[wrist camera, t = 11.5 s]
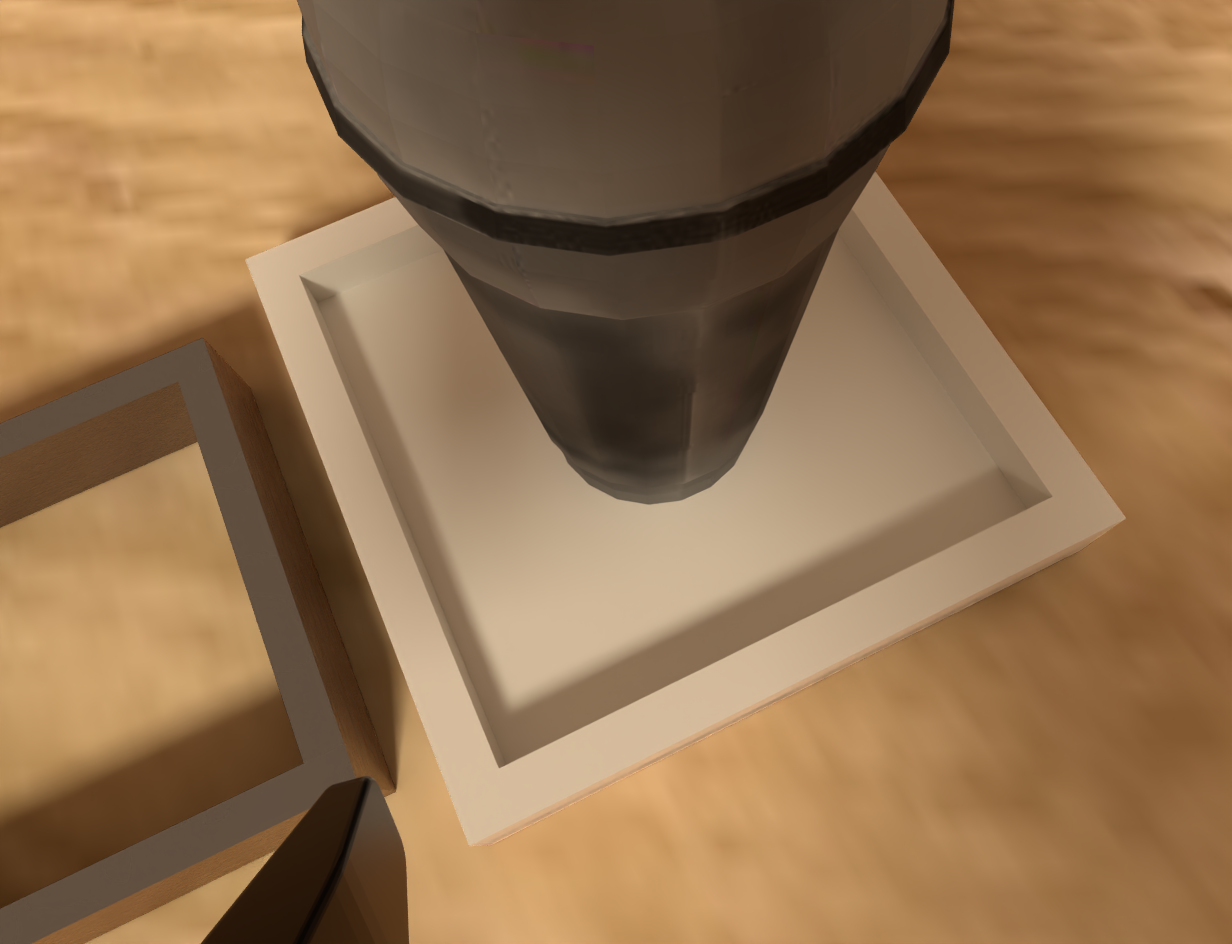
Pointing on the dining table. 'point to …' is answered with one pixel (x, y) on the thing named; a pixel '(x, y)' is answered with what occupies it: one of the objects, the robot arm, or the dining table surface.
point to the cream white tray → (660, 508)
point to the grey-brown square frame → (279, 594)
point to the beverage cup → (631, 190)
